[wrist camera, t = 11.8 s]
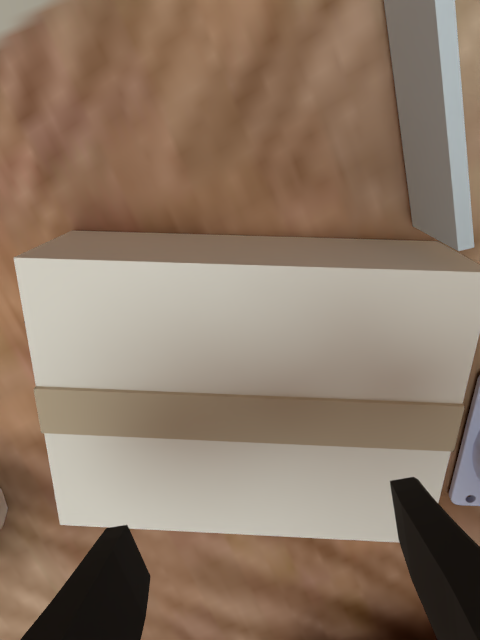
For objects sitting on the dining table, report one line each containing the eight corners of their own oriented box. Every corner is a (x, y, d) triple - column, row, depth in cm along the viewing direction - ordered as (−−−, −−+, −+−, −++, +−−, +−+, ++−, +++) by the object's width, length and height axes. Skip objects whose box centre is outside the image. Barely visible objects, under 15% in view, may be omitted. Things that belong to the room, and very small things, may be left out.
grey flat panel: (428, 222, 18) (556, 283, 10) (409, 227, 19) (521, 291, 11) (377, -225, 14) (543, -752, 6) (351, -215, 14) (478, -719, 6)
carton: (437, 241, 19) (497, 274, 14) (395, 465, 24) (429, 547, 19) (72, 230, 20) (10, 259, 15) (98, 451, 24) (58, 528, 19)
